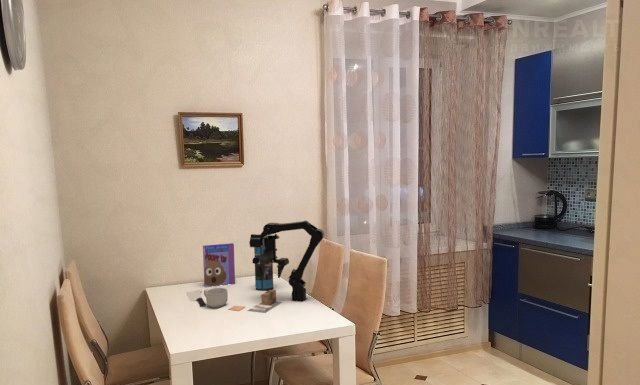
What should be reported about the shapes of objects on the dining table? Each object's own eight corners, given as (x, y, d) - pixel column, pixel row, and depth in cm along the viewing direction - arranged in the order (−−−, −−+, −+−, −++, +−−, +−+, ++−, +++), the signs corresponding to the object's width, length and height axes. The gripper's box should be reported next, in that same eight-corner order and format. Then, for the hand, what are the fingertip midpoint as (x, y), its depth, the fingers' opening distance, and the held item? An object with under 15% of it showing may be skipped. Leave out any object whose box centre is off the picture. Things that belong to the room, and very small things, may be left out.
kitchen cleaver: (182, 292, 249) (200, 287, 252) (183, 295, 249) (201, 290, 252) (188, 308, 220) (208, 303, 223) (188, 311, 220) (209, 306, 223)
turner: (266, 300, 228) (266, 289, 228) (280, 302, 225) (280, 290, 225) (250, 310, 213) (249, 297, 213) (264, 311, 210) (264, 299, 210)
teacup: (232, 305, 224) (231, 289, 223) (213, 310, 216) (213, 294, 215) (216, 300, 233) (216, 285, 233) (198, 305, 225) (197, 289, 225)
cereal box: (205, 287, 260) (203, 246, 258) (204, 285, 264) (202, 245, 263) (235, 284, 266) (233, 244, 265) (233, 282, 270) (232, 242, 269)
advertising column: (278, 288, 253) (277, 236, 251) (263, 293, 244) (261, 239, 243) (265, 285, 260) (263, 234, 259) (250, 290, 252) (248, 237, 250)
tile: (245, 306, 218) (239, 310, 212) (245, 309, 218) (239, 313, 213) (234, 305, 220) (228, 309, 215) (235, 308, 220) (228, 312, 215)
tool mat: (282, 303, 225) (282, 302, 225) (265, 314, 209) (265, 313, 209) (265, 301, 229) (265, 300, 229) (246, 312, 213) (246, 310, 213)
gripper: (246, 249, 226) (247, 279, 227) (279, 251, 219) (279, 282, 220) (257, 245, 236) (258, 274, 237) (289, 247, 229) (289, 277, 230)
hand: (271, 277), depth 231 cm, fingers open, 9 cm apart
